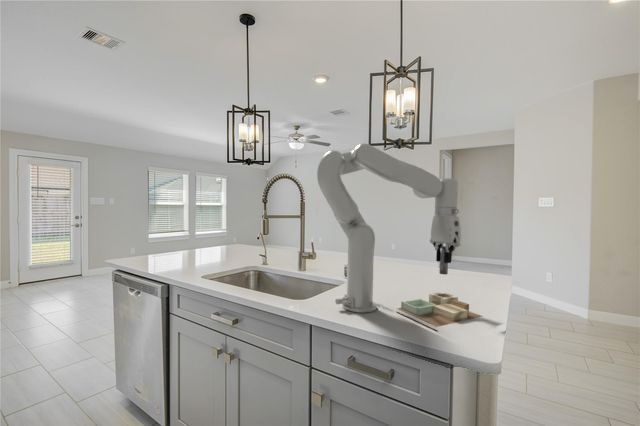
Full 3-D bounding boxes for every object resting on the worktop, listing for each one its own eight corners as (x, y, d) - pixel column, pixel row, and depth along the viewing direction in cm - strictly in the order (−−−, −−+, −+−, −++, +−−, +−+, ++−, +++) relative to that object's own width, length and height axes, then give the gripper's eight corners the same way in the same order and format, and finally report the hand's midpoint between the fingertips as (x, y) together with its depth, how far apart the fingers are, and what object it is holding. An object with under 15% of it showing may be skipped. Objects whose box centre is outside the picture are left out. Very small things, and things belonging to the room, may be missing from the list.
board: (436, 331, 92) (436, 313, 92) (396, 312, 108) (396, 297, 108) (482, 320, 102) (483, 304, 102) (439, 304, 118) (440, 290, 118)
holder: (444, 310, 107) (444, 299, 107) (428, 304, 113) (429, 293, 113) (457, 307, 110) (458, 296, 110) (442, 302, 116) (442, 291, 116)
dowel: (443, 274, 109) (444, 247, 109) (437, 273, 112) (438, 246, 112) (449, 274, 111) (450, 247, 110) (443, 272, 113) (443, 246, 113)
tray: (417, 315, 101) (417, 308, 101) (401, 308, 107) (401, 301, 107) (436, 312, 105) (436, 304, 105) (420, 305, 112) (420, 298, 112)
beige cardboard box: (452, 321, 96) (453, 313, 96) (433, 313, 104) (433, 305, 103) (467, 317, 100) (467, 310, 100) (447, 310, 107) (447, 303, 107)
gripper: (472, 213, 105) (470, 265, 106) (435, 211, 120) (433, 257, 120) (457, 212, 102) (455, 266, 102) (421, 211, 116) (419, 258, 117)
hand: (443, 261), depth 111 cm, fingers closed on dowel, 2 cm apart
